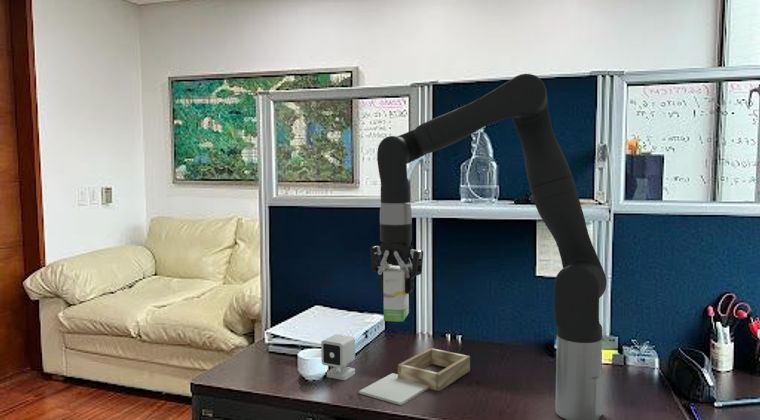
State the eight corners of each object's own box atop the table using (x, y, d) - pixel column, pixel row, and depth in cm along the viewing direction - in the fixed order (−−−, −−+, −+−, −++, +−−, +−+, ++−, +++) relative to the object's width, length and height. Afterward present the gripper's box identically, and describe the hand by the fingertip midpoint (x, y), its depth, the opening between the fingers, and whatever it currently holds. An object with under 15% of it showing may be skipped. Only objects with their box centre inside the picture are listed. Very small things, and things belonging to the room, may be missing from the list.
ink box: (404, 322, 135) (403, 259, 134) (383, 321, 136) (382, 258, 135) (409, 312, 144) (409, 253, 143) (389, 311, 145) (389, 252, 144)
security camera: (321, 378, 149) (320, 340, 148) (336, 369, 155) (335, 332, 154) (342, 382, 146) (342, 343, 145) (356, 373, 152) (356, 336, 152)
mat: (432, 385, 144) (432, 383, 144) (401, 405, 133) (401, 402, 133) (392, 375, 151) (392, 373, 151) (359, 393, 140) (359, 390, 140)
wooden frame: (469, 371, 154) (469, 356, 153) (439, 391, 141) (439, 374, 140) (430, 362, 161) (430, 347, 160) (397, 380, 148) (397, 364, 147)
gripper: (430, 221, 137) (430, 292, 138) (380, 218, 145) (380, 285, 147) (413, 224, 131) (413, 298, 132) (361, 221, 139) (362, 290, 141)
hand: (396, 291), depth 140 cm, fingers closed on ink box, 6 cm apart
